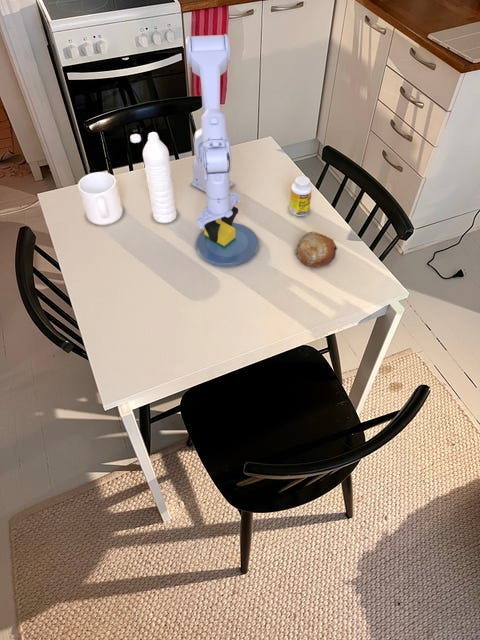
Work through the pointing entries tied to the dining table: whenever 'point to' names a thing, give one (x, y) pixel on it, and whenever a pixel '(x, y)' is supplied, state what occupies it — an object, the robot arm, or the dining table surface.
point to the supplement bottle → (300, 196)
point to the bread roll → (316, 250)
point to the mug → (100, 198)
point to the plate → (229, 248)
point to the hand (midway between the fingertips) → (219, 235)
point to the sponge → (223, 234)
